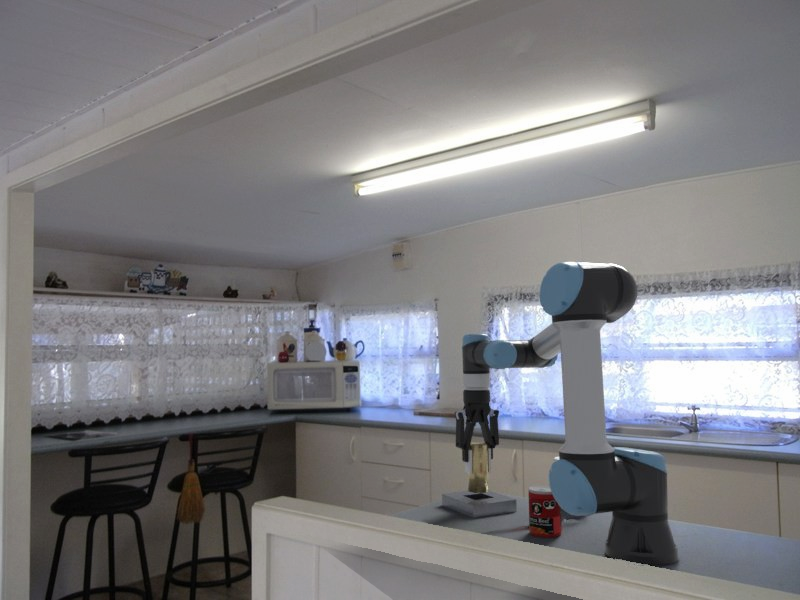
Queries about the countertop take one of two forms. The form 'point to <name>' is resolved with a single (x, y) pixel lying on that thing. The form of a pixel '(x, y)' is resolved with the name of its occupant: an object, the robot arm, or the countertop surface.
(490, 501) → the housing
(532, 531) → the canned food
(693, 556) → the countertop surface
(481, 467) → the cream rounded cylinder
